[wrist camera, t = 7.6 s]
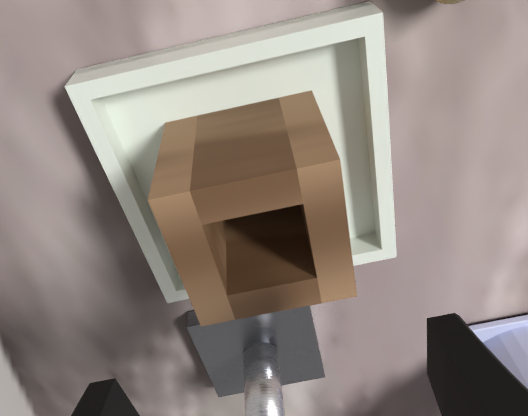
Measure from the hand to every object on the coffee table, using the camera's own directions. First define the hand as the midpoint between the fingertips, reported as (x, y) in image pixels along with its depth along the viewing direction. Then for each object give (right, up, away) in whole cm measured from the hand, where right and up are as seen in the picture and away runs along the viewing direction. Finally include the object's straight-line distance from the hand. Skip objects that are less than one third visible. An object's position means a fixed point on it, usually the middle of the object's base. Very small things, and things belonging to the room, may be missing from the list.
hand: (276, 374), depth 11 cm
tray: (-1, +6, +8) cm, 10 cm away
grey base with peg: (-1, -3, +14) cm, 15 cm away
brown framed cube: (-1, +5, +8) cm, 9 cm away
